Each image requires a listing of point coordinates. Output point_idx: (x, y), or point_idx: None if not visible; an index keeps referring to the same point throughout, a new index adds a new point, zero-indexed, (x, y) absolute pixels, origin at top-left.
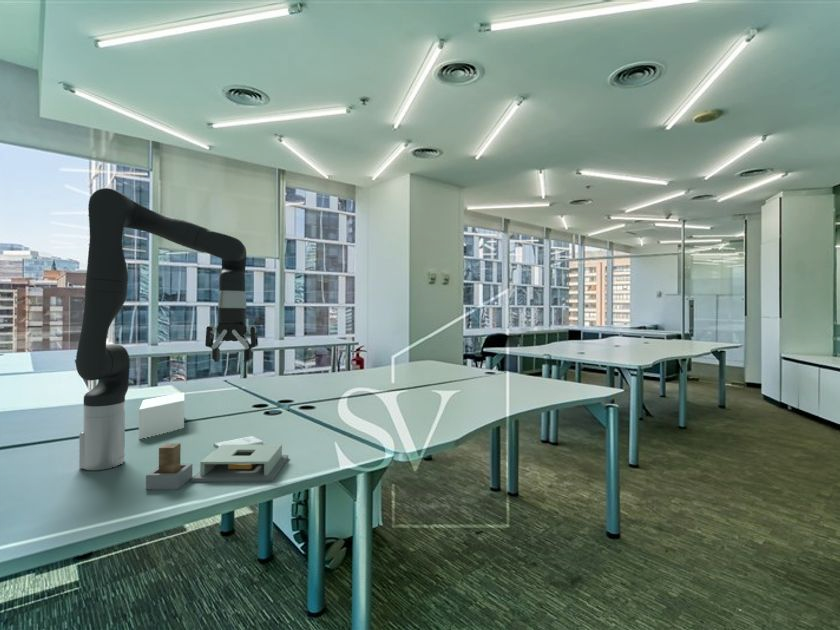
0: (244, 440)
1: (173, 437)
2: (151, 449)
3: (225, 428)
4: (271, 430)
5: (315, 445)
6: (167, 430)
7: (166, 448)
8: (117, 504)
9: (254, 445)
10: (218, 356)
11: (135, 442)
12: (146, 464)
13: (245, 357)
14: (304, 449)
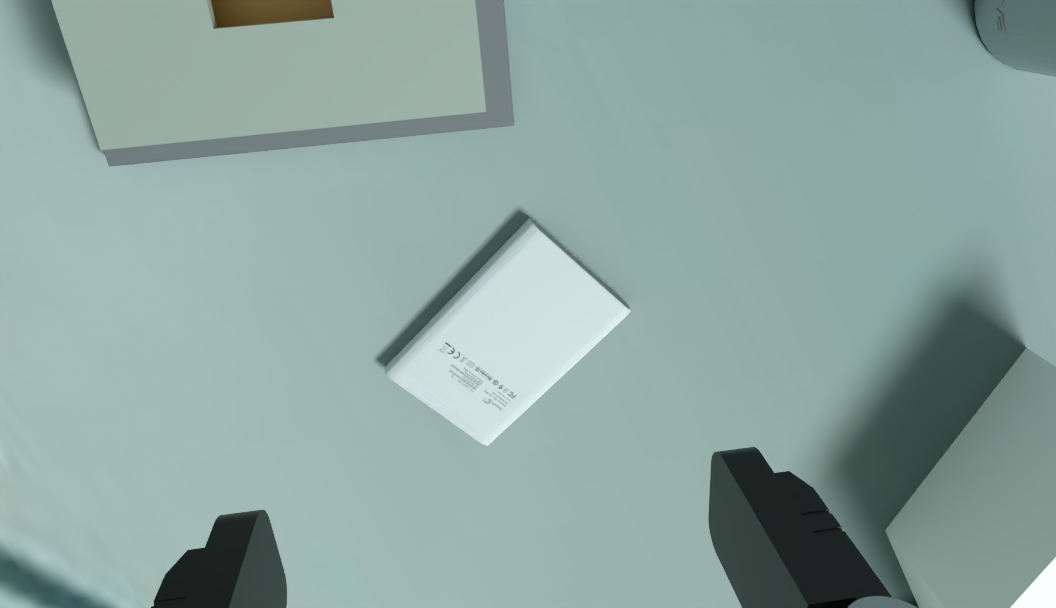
0: (489, 372)
1: (880, 403)
2: (916, 227)
3: (687, 554)
4: (444, 560)
5: (78, 379)
6: (942, 470)
7: None
8: None
9: (270, 112)
10: (738, 558)
11: (1029, 315)
12: (851, 3)
13: (215, 560)
14: (105, 312)
